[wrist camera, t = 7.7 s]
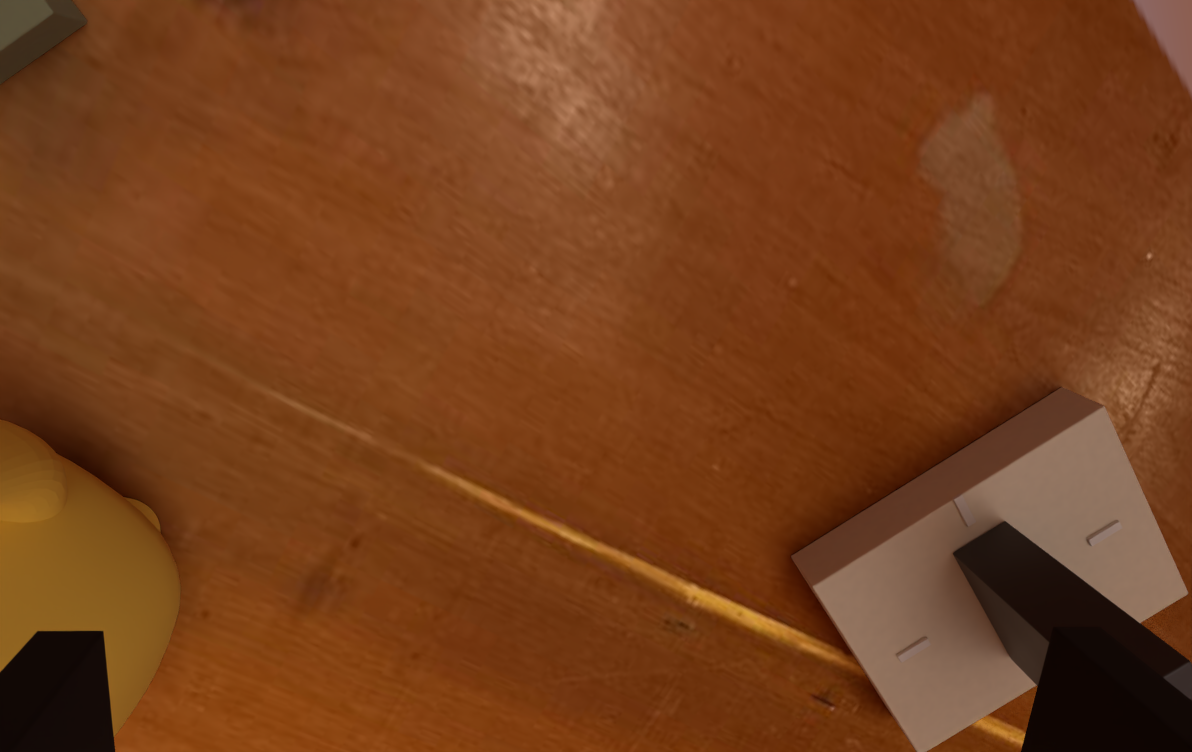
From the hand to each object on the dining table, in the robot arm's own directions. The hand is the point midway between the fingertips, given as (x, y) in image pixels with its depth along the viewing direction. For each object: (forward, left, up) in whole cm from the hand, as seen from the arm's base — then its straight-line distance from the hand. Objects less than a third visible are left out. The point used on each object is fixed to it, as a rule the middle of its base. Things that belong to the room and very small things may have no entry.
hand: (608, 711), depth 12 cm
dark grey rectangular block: (-10, +18, -18) cm, 27 cm away
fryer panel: (-10, +18, -20) cm, 29 cm away
